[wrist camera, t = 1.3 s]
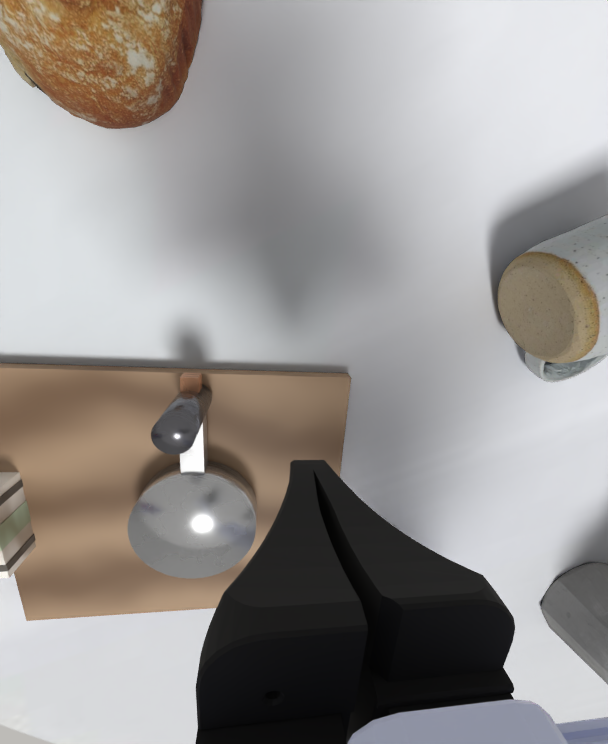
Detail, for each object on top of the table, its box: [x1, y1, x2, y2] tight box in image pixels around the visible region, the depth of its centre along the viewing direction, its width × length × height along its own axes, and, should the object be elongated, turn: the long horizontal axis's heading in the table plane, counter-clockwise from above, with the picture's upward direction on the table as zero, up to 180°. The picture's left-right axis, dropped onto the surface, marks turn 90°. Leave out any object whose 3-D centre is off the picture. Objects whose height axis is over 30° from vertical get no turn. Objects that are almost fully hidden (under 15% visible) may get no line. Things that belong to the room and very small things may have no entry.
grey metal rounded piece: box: [128, 372, 257, 578], centre depth 19 cm, size 14×8×5 cm, turn 176°
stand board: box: [0, 363, 351, 621], centre depth 21 cm, size 20×23×3 cm
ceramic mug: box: [498, 215, 608, 382], centre depth 18 cm, size 11×8×8 cm
